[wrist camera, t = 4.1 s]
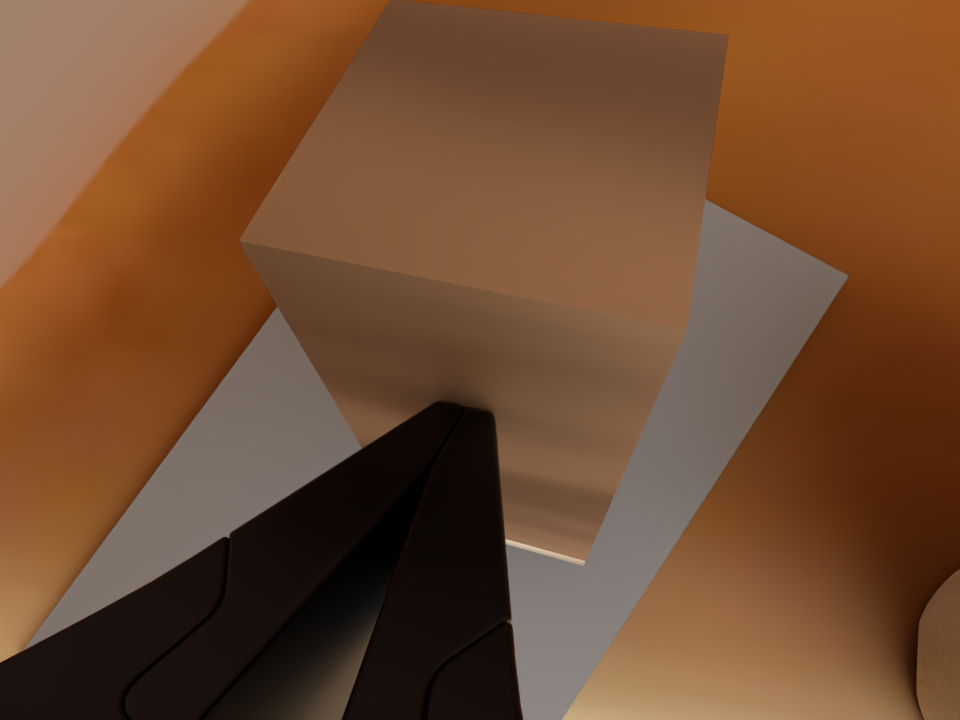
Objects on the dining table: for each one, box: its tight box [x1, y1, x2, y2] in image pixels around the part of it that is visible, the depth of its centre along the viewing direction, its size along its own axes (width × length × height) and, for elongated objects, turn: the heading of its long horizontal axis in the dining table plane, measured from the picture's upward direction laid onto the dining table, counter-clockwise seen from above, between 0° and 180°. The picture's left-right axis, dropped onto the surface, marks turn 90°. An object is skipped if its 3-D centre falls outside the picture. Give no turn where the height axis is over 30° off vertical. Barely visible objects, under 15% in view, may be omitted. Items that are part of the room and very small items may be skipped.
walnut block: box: [238, 0, 728, 566], centre depth 11 cm, size 4×4×10 cm
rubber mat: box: [24, 199, 848, 720], centre depth 17 cm, size 22×13×1 cm, turn 145°
